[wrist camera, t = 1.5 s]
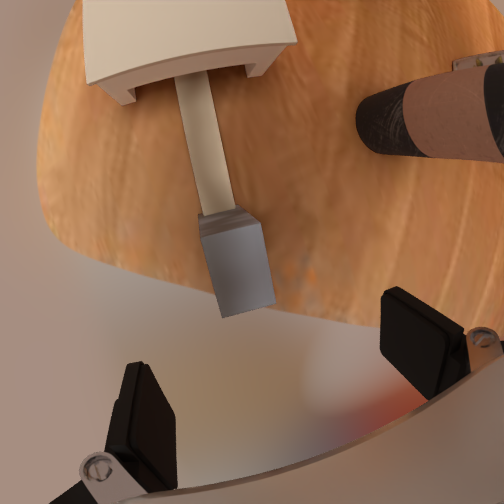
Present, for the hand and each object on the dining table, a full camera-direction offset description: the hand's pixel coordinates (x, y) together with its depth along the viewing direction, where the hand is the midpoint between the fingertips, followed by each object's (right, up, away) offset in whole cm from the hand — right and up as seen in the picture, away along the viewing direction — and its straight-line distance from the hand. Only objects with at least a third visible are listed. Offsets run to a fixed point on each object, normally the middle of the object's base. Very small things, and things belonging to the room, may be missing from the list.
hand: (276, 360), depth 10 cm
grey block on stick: (-5, +13, +16) cm, 21 cm away
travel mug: (+14, +19, +19) cm, 30 cm away
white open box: (-8, +25, +12) cm, 29 cm away
